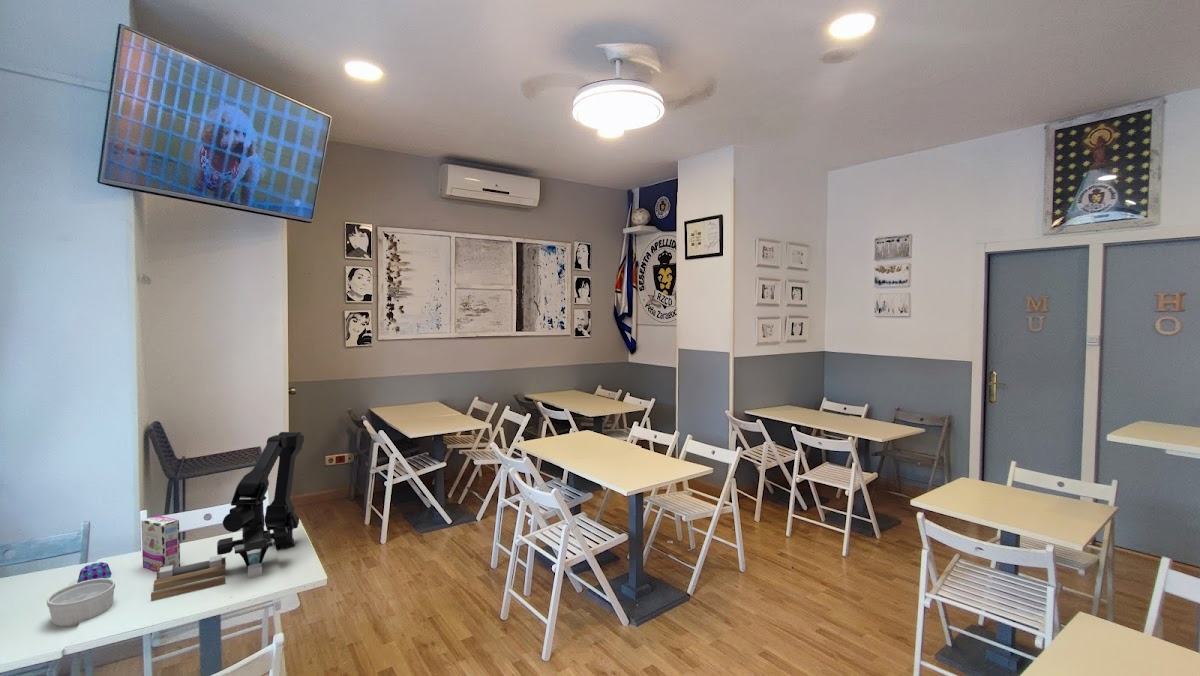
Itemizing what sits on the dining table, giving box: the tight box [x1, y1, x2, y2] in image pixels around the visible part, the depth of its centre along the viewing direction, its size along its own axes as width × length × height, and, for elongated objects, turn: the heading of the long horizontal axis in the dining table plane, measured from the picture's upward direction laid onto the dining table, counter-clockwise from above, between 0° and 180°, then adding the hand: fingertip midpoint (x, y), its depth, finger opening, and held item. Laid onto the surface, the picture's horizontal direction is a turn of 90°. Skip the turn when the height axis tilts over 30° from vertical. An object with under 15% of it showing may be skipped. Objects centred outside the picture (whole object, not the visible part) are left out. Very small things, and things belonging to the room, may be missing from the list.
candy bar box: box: [140, 514, 181, 573], centre depth 168 cm, size 11×5×16 cm, turn 68°
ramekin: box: [46, 578, 116, 628], centre depth 144 cm, size 13×13×7 cm
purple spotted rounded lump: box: [67, 561, 113, 586], centre depth 161 cm, size 12×12×5 cm
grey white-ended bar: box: [159, 555, 223, 579], centre depth 164 cm, size 15×4×4 cm, turn 125°
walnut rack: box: [150, 556, 227, 602], centre depth 161 cm, size 15×17×3 cm
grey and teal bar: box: [247, 549, 263, 579], centre depth 170 cm, size 15×4×4 cm, turn 35°
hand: (254, 566), depth 170 cm, fingers closed on grey and teal bar, 3 cm apart
